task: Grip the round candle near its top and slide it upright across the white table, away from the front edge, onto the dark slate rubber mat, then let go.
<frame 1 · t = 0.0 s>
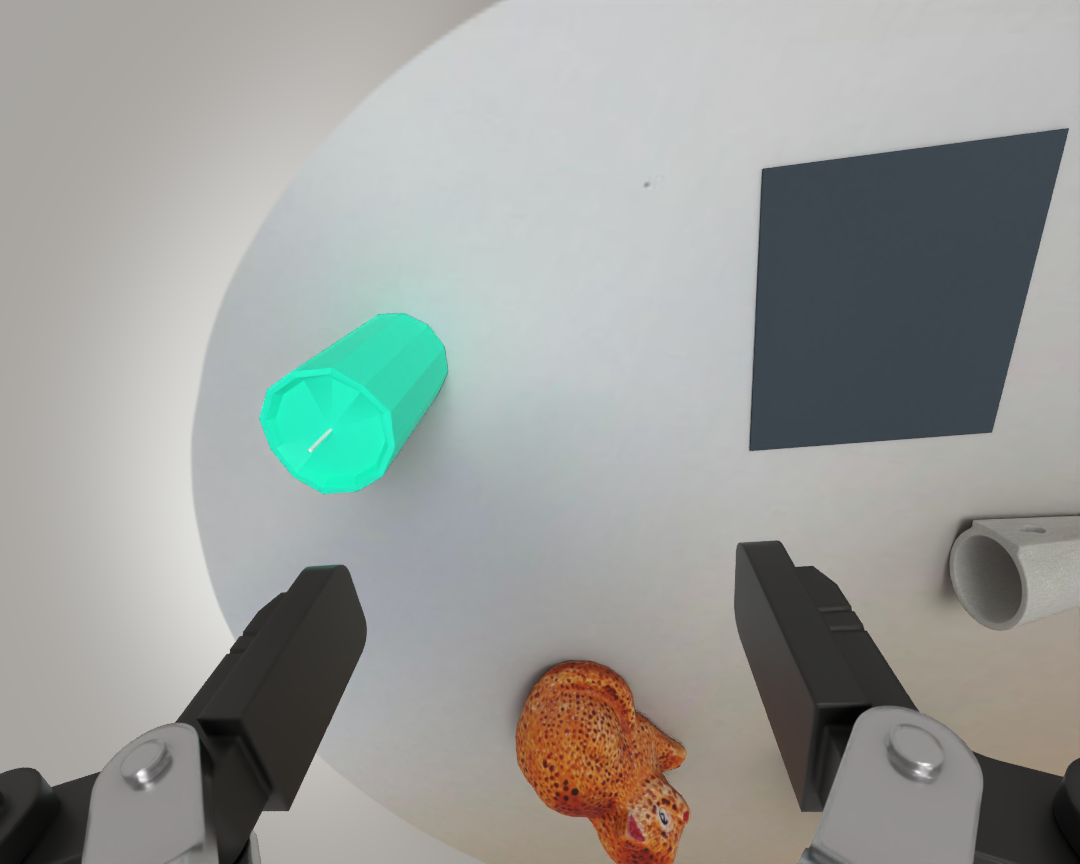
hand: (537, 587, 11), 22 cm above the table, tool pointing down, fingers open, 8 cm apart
mat: (886, 311, 29), on the table
candle: (400, 360, 33), on the table
figurine: (603, 720, 45), on the table
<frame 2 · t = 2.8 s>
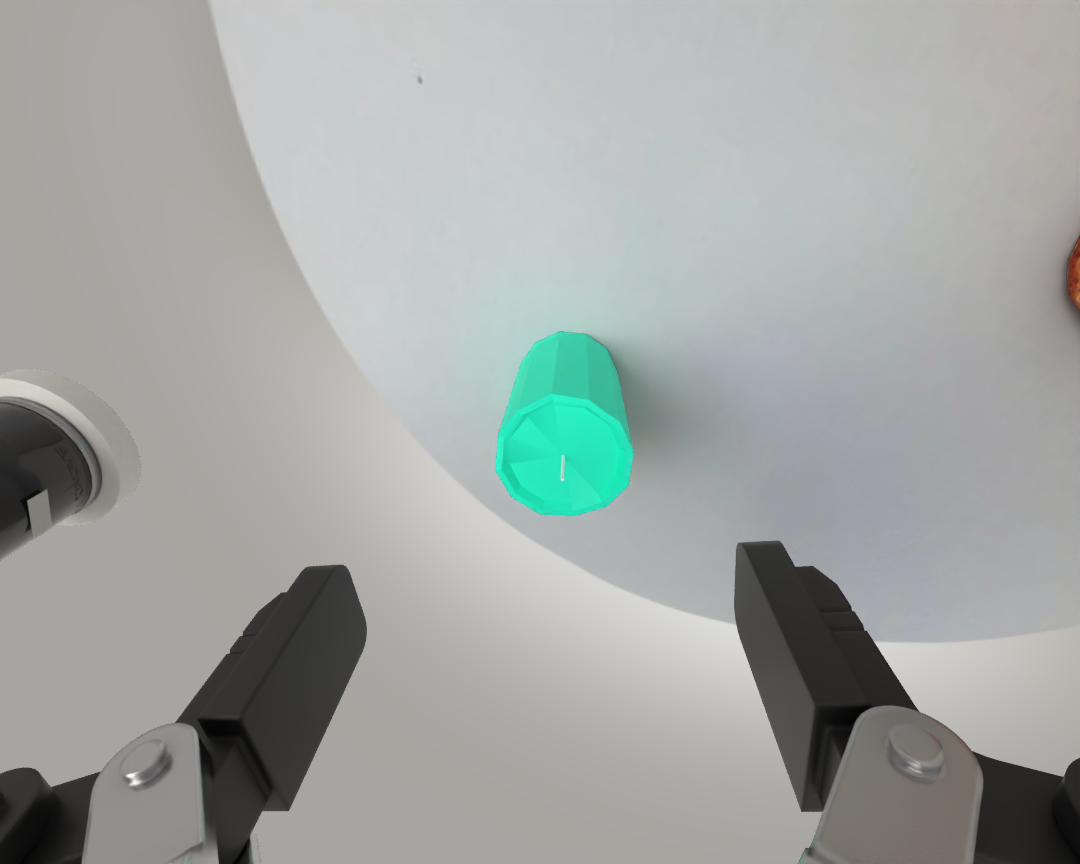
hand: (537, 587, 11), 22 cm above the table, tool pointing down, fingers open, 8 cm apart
candle: (567, 378, 32), on the table
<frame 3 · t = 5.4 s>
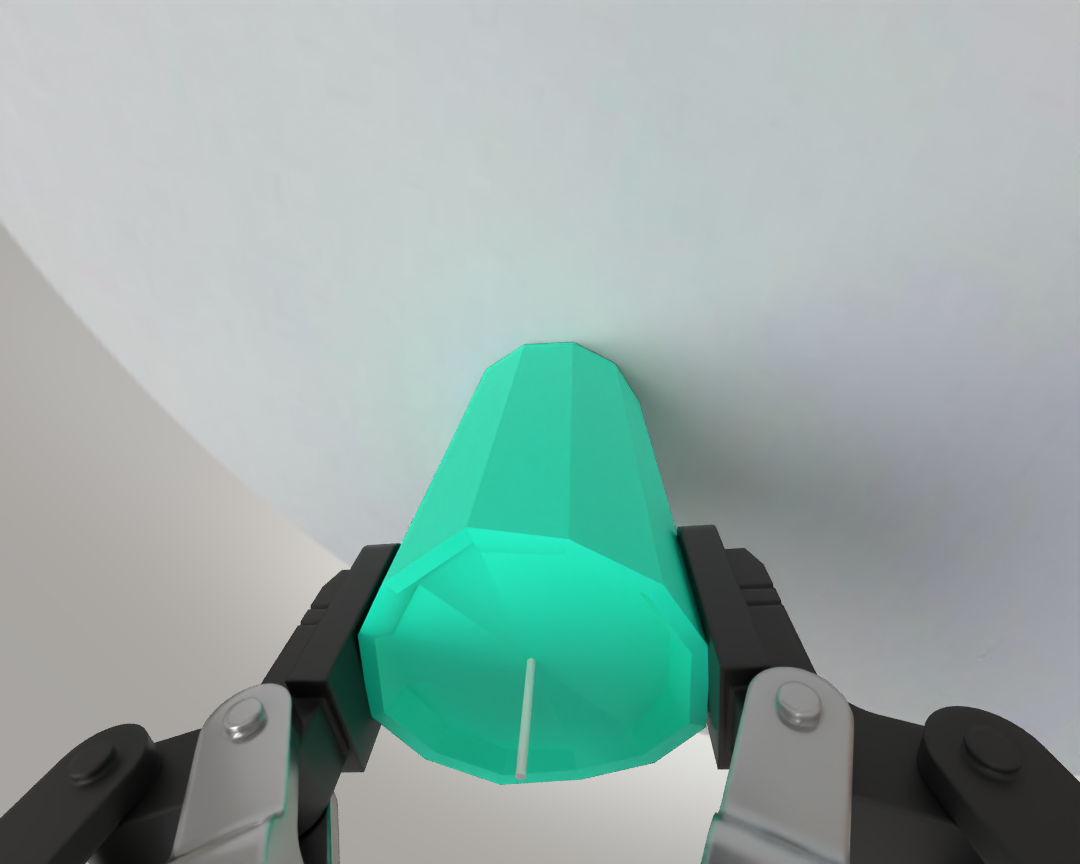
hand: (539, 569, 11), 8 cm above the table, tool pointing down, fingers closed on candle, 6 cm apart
candle: (553, 423, 19), on the table, touching gripper
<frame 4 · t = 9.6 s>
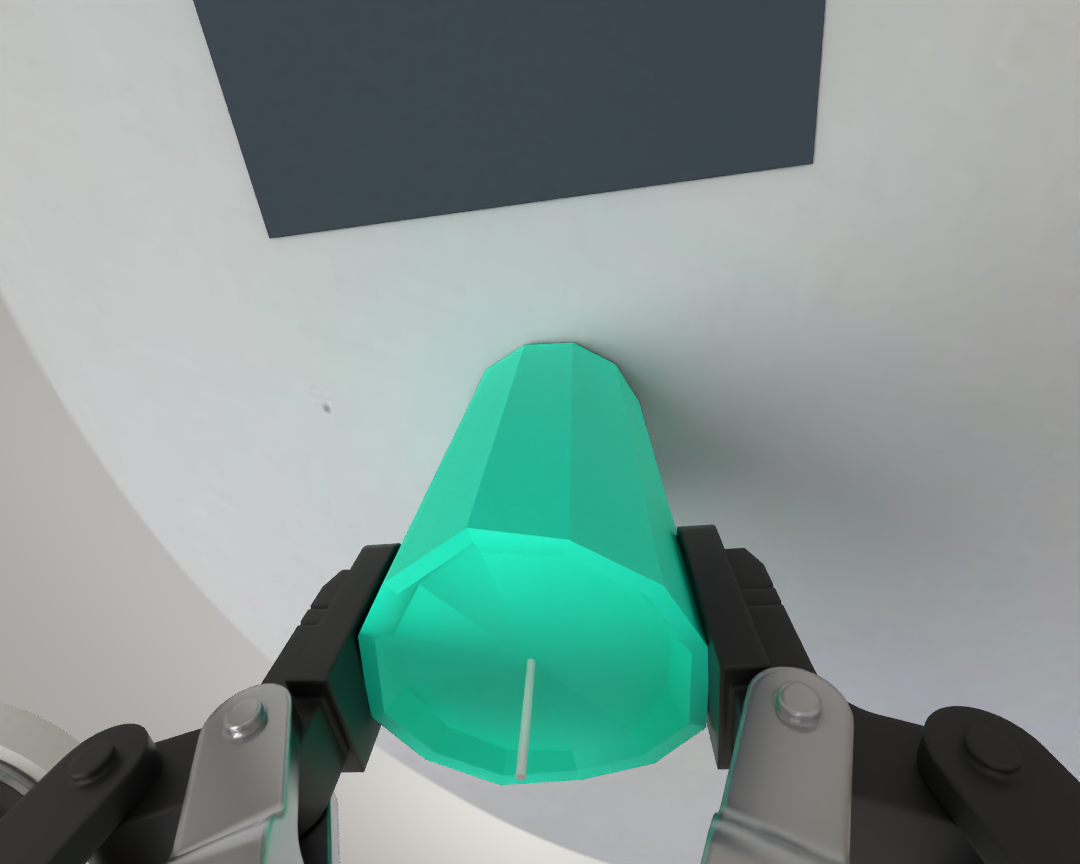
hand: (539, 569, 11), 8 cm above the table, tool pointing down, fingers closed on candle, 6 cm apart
candle: (553, 423, 19), on the table, touching gripper
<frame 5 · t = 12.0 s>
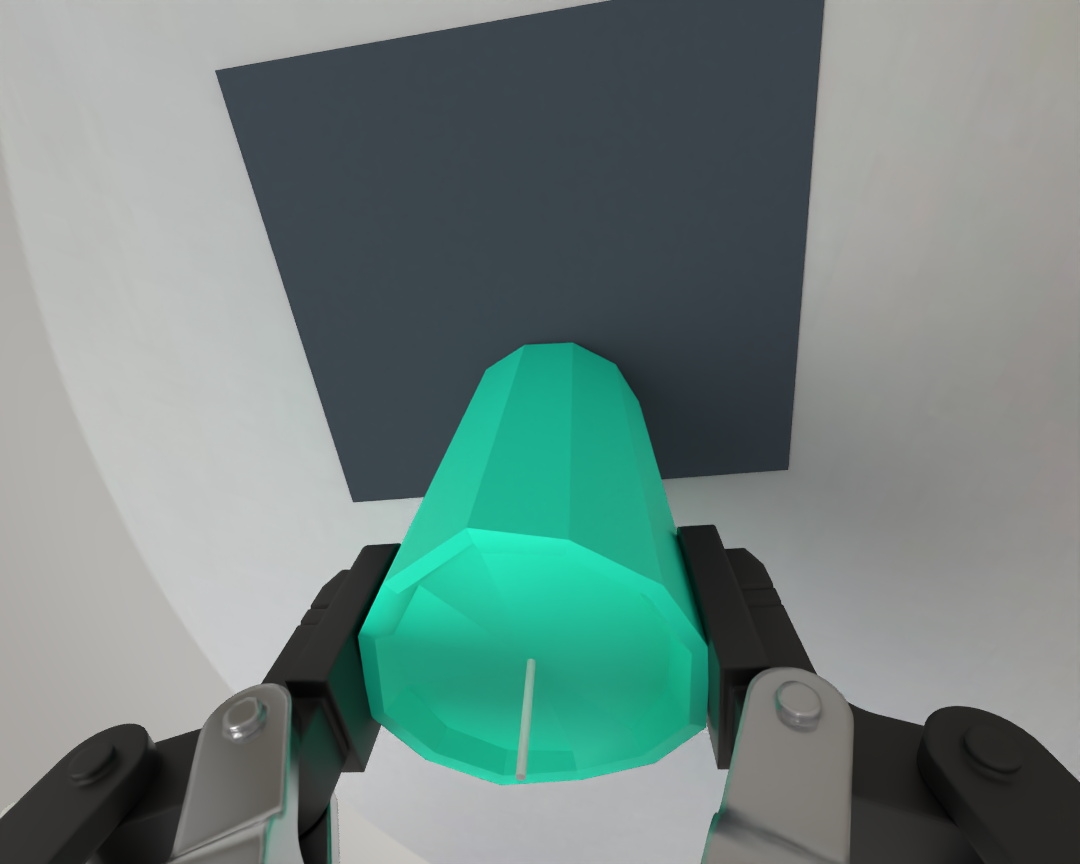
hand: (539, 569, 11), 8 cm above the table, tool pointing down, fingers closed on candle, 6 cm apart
mat: (536, 293, 17), on the table
candle: (553, 423, 19), on the table, touching gripper
when the fingers open (8 cm above the table, at t = 13.7 s): candle stays where it is, resting on mat.
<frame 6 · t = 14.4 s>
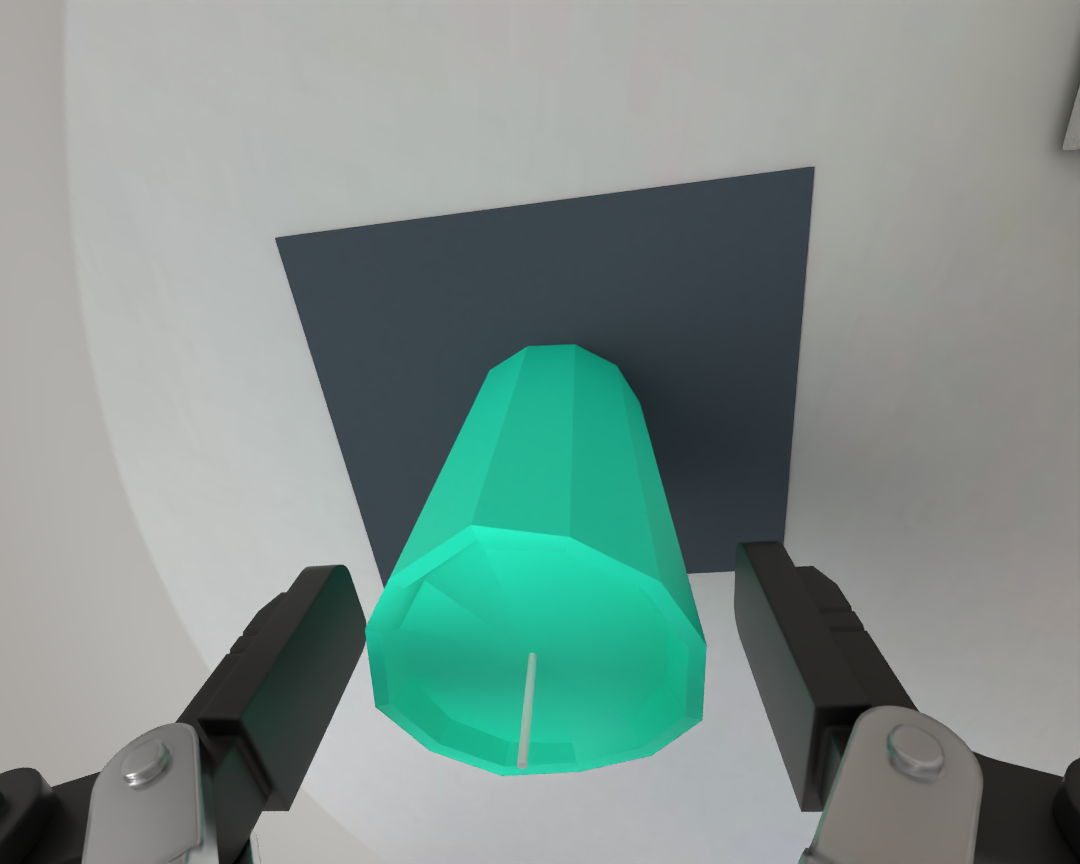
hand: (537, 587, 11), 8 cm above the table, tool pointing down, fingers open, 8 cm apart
mat: (555, 420, 19), on the table
candle: (555, 423, 19), resting on mat
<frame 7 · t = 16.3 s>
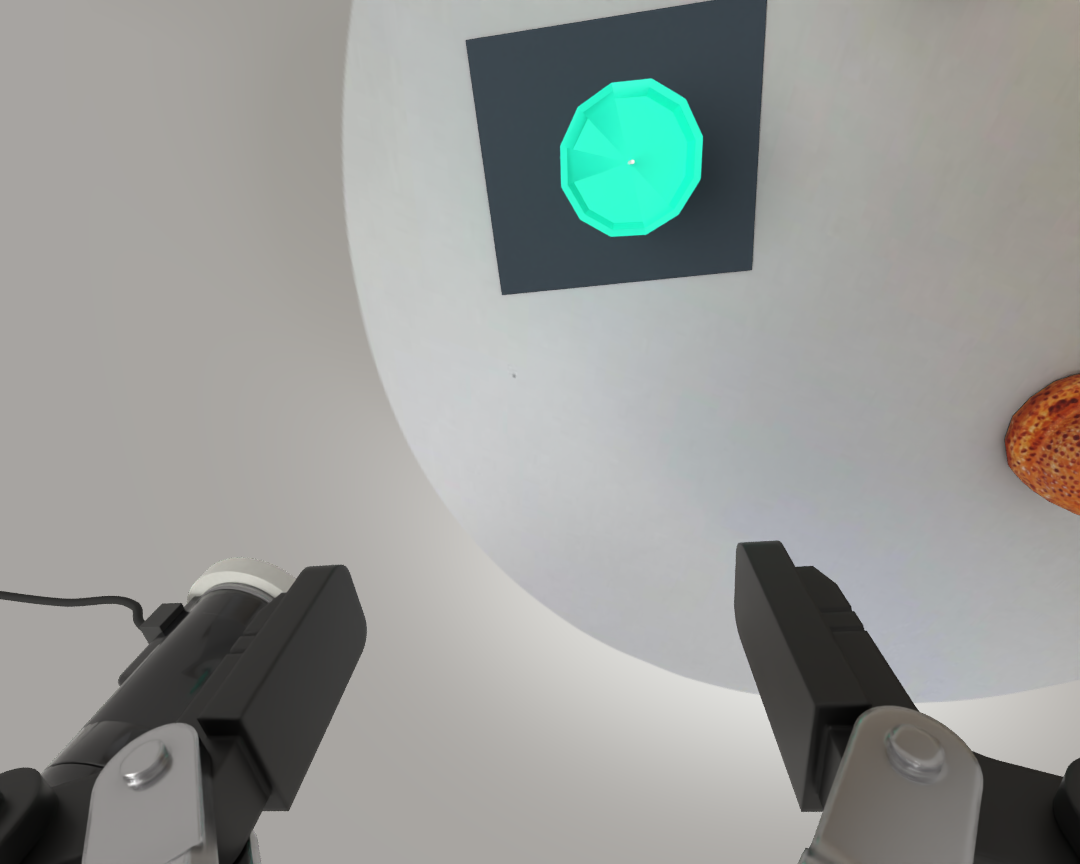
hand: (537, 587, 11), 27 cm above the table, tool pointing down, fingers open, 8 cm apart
mat: (617, 162, 32), on the table
candle: (617, 165, 32), resting on mat
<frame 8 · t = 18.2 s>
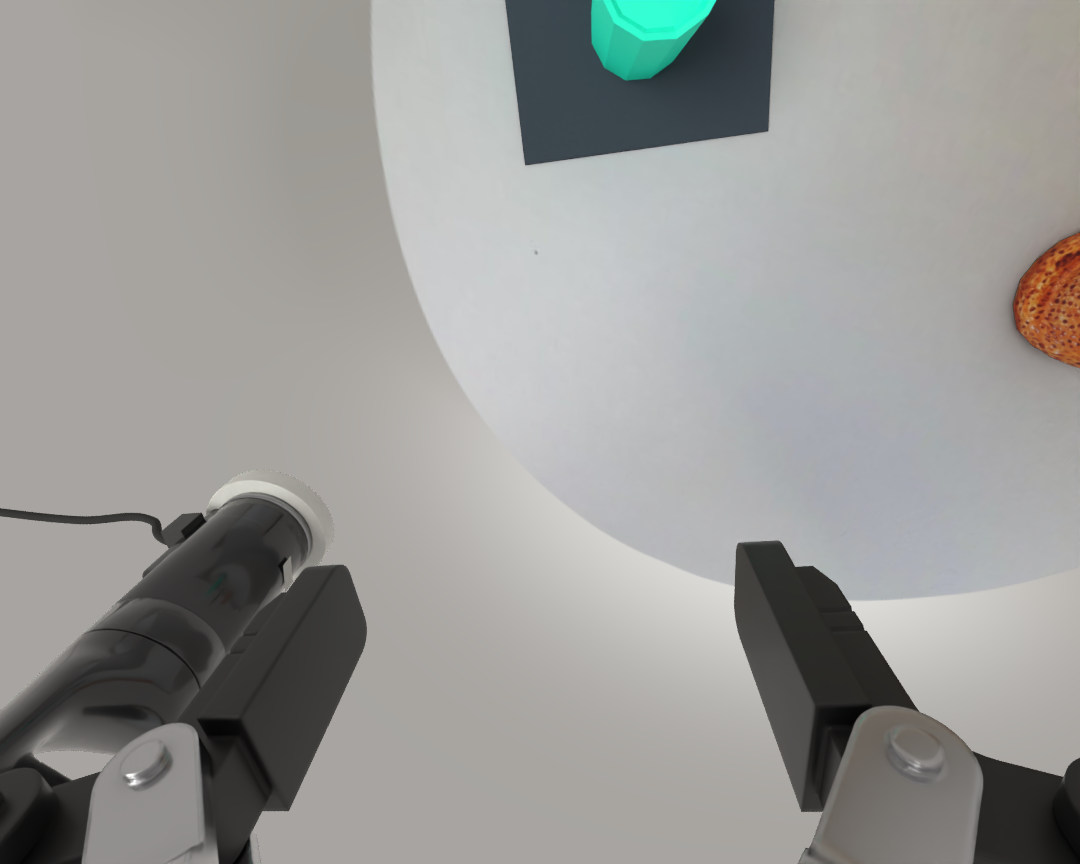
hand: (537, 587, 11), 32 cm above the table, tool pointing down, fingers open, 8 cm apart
mat: (638, 20, 33), on the table
candle: (638, 24, 33), resting on mat
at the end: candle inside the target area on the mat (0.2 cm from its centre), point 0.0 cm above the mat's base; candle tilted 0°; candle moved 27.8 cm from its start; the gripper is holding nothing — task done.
